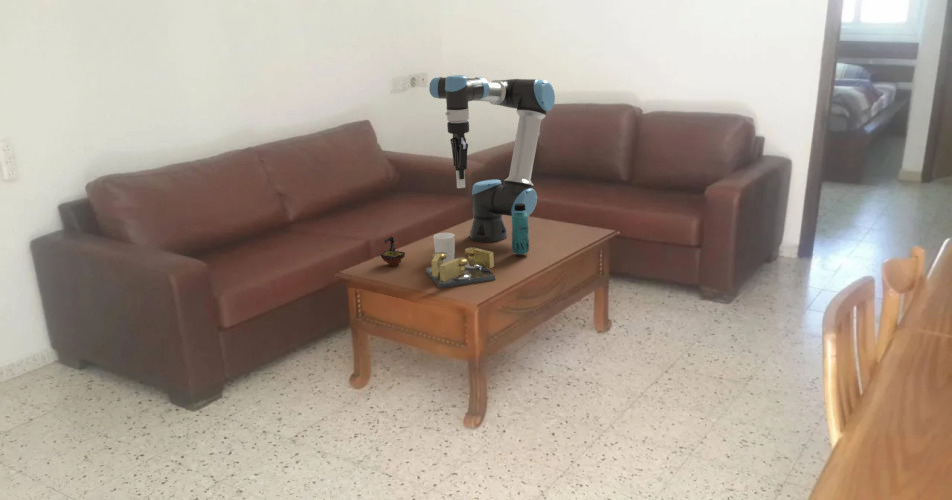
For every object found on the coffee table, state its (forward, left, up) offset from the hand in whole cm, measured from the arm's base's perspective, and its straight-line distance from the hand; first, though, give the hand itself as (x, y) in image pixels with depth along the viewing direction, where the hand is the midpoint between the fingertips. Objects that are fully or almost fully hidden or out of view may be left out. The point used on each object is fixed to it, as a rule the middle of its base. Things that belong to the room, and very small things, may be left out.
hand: (461, 187), depth 281 cm
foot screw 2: (+9, +17, -27) cm, 33 cm away
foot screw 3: (-3, +9, -27) cm, 29 cm away
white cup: (+5, -8, -30) cm, 31 cm away
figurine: (+24, -12, -30) cm, 40 cm away
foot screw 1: (+13, +9, -27) cm, 31 cm away
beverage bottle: (-23, -2, -30) cm, 38 cm away
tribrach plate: (+5, +10, -29) cm, 31 cm away
